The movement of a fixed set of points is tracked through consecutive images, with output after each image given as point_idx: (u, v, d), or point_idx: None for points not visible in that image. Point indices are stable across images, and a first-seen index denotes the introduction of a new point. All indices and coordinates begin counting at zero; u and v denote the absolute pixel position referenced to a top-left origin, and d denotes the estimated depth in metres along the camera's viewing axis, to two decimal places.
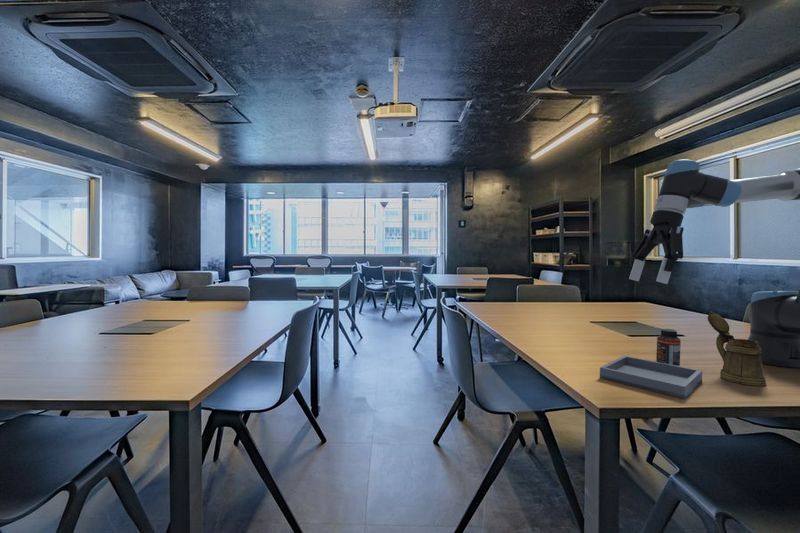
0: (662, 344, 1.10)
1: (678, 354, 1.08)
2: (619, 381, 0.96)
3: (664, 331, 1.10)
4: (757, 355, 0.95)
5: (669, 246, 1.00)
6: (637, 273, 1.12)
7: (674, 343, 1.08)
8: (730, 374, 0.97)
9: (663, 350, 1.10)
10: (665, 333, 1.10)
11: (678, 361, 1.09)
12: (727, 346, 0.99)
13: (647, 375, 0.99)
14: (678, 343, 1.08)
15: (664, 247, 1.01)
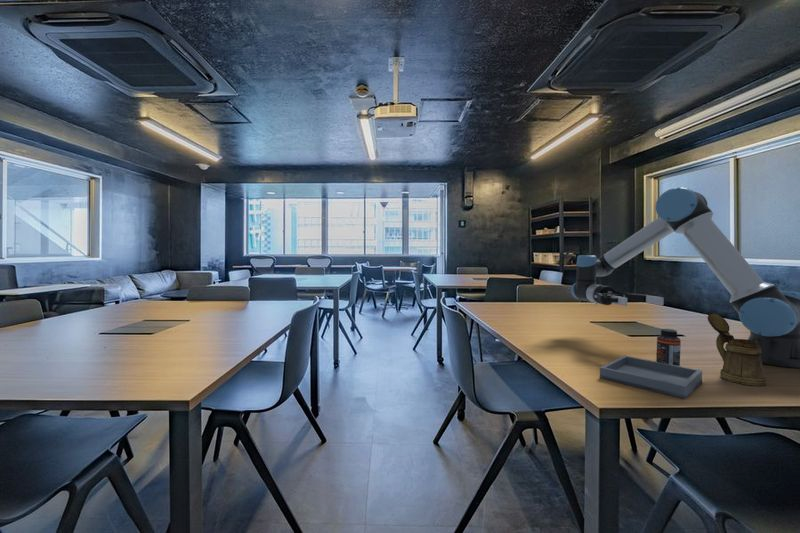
0: (662, 344, 1.10)
1: (678, 354, 1.08)
2: (619, 381, 0.96)
3: (664, 331, 1.10)
4: (757, 355, 0.95)
5: None
6: (656, 299, 1.23)
7: (674, 343, 1.08)
8: (730, 374, 0.97)
9: (663, 350, 1.10)
10: (665, 333, 1.10)
11: (678, 361, 1.09)
12: (727, 346, 0.99)
13: (647, 375, 0.99)
14: (678, 343, 1.08)
15: None
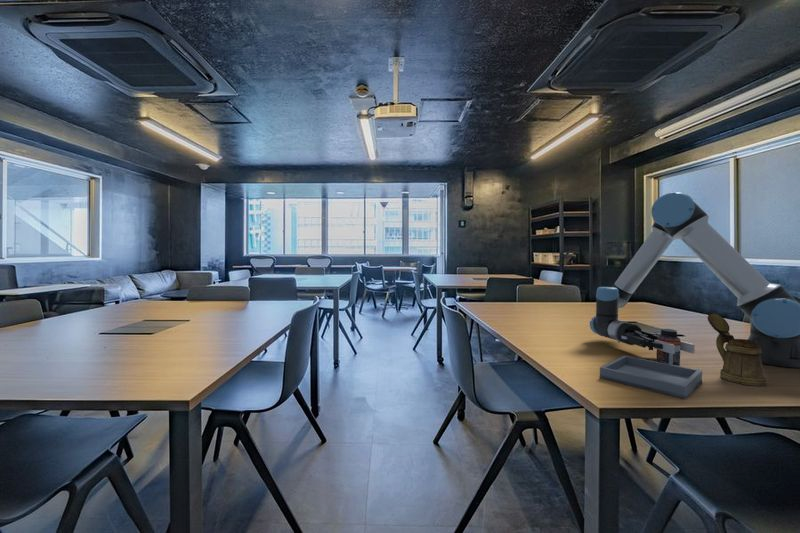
0: None
1: (678, 354, 1.08)
2: (619, 381, 0.96)
3: (664, 331, 1.10)
4: (757, 355, 0.95)
5: None
6: (685, 346, 1.09)
7: (674, 343, 1.08)
8: (730, 374, 0.97)
9: None
10: (665, 333, 1.10)
11: (678, 361, 1.09)
12: (727, 346, 0.99)
13: (647, 375, 0.99)
14: (678, 343, 1.08)
15: None
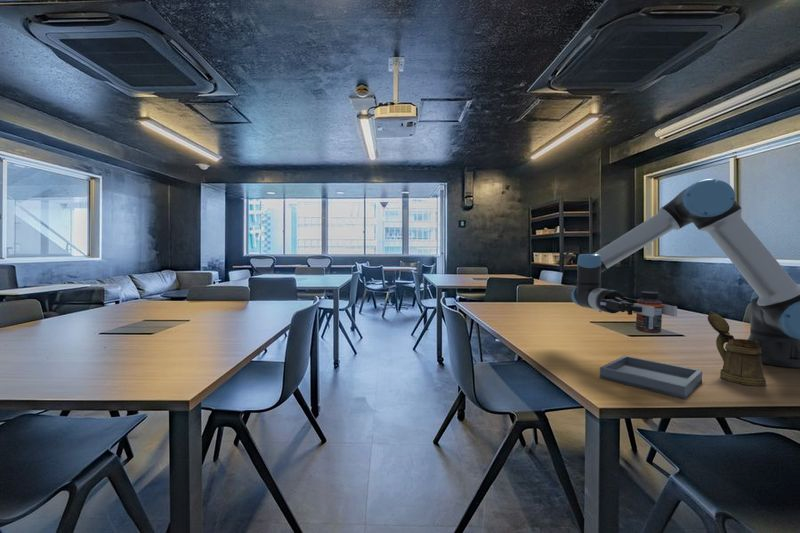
0: None
1: (659, 318, 0.98)
2: (619, 381, 0.96)
3: (644, 293, 1.00)
4: (757, 355, 0.95)
5: None
6: (667, 309, 0.98)
7: (654, 306, 0.98)
8: (730, 374, 0.97)
9: None
10: (645, 295, 1.00)
11: (659, 326, 0.98)
12: (727, 346, 0.99)
13: (647, 375, 0.99)
14: (659, 306, 0.98)
15: None
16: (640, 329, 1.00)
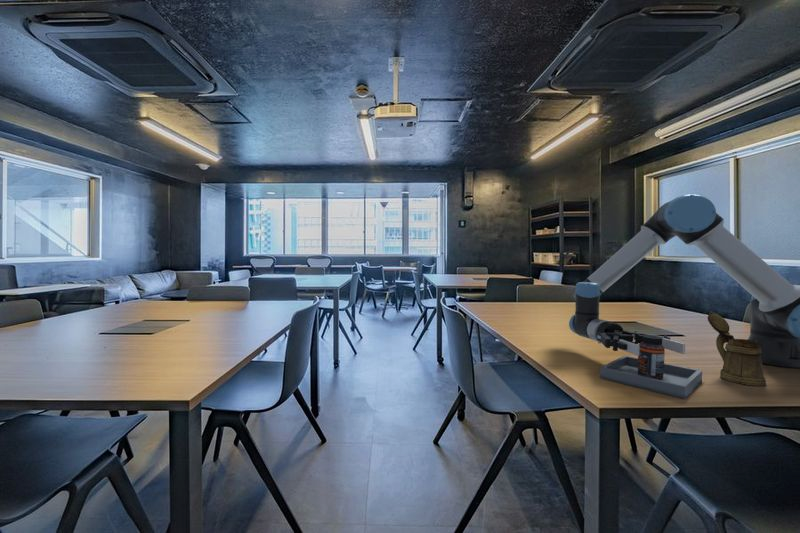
0: (643, 353, 0.97)
1: (661, 364, 0.96)
2: (619, 381, 0.96)
3: (646, 338, 0.97)
4: (757, 355, 0.95)
5: None
6: (675, 345, 0.98)
7: (657, 352, 0.95)
8: (730, 374, 0.97)
9: (644, 359, 0.97)
10: (647, 340, 0.97)
11: (661, 372, 0.96)
12: (727, 346, 0.99)
13: None
14: (662, 352, 0.95)
15: None
16: (642, 375, 0.98)
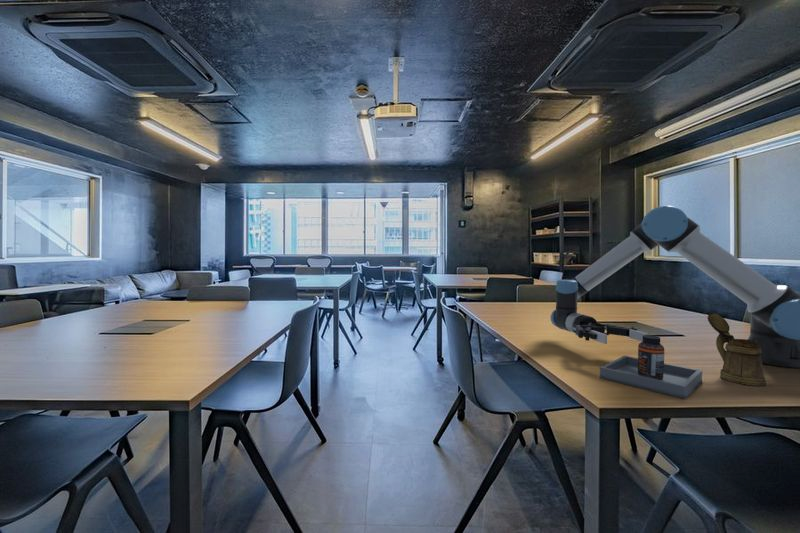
0: (643, 353, 0.97)
1: (661, 364, 0.96)
2: (619, 381, 0.96)
3: (646, 338, 0.97)
4: (757, 355, 0.95)
5: None
6: (639, 335, 1.10)
7: (657, 352, 0.95)
8: (730, 374, 0.97)
9: (644, 359, 0.97)
10: (647, 340, 0.97)
11: (661, 372, 0.96)
12: (727, 346, 0.99)
13: None
14: (661, 351, 0.95)
15: None
16: (642, 375, 0.98)
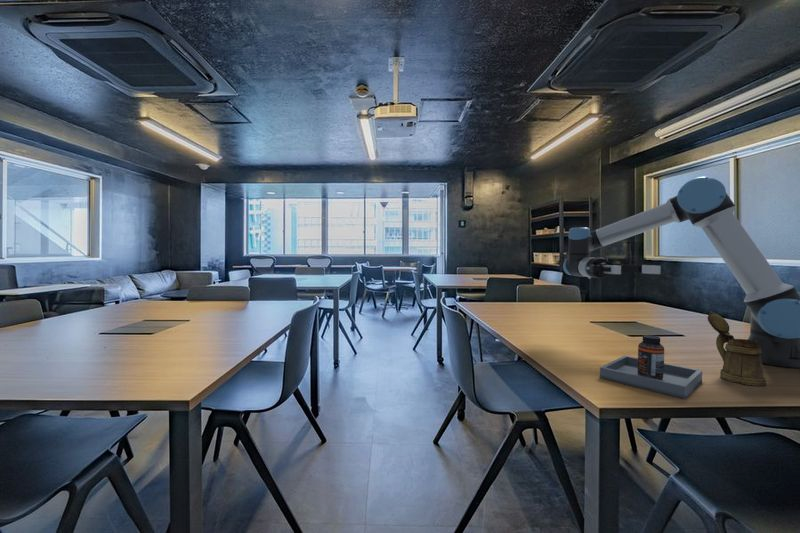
0: (643, 353, 0.97)
1: (661, 364, 0.96)
2: (619, 381, 0.96)
3: (646, 338, 0.97)
4: (757, 355, 0.95)
5: None
6: (652, 268, 1.14)
7: (657, 352, 0.95)
8: (730, 374, 0.97)
9: (644, 359, 0.97)
10: (647, 340, 0.97)
11: (661, 372, 0.96)
12: (727, 346, 0.99)
13: None
14: (661, 351, 0.95)
15: None
16: (642, 375, 0.98)
